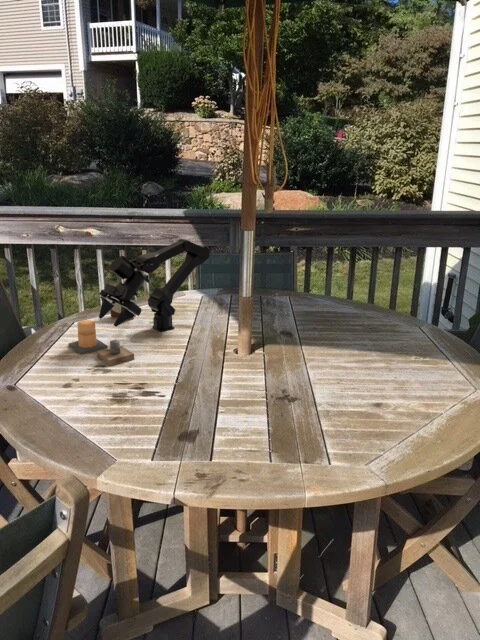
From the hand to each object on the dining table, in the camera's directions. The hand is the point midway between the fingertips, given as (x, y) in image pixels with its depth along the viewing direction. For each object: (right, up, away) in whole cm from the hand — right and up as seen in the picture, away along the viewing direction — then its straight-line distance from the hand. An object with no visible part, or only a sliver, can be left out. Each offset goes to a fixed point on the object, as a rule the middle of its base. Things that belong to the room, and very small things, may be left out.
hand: (107, 322), depth 192 cm
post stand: (+6, -12, -11) cm, 18 cm away
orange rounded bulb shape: (-6, -8, -3) cm, 10 cm away
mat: (-6, -9, -2) cm, 11 cm away
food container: (0, +2, +31) cm, 31 cm away
